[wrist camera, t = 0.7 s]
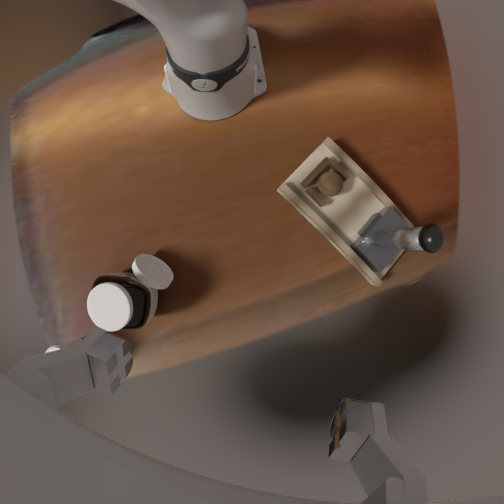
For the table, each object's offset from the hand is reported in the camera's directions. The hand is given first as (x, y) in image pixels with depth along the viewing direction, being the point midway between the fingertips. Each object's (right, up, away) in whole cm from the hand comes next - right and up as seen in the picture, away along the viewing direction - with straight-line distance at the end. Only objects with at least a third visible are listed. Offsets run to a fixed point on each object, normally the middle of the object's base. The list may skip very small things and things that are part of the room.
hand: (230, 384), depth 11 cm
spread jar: (-18, -1, +41) cm, 45 cm away
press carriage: (+22, +7, +40) cm, 46 cm away
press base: (+18, +11, +42) cm, 47 cm away
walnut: (+13, +15, +37) cm, 43 cm away
